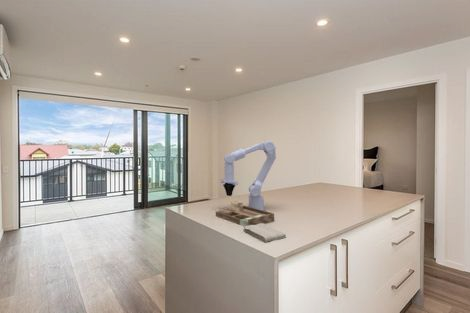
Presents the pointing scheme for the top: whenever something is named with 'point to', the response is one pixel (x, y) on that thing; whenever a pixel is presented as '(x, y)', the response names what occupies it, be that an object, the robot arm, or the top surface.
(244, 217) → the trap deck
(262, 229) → the washcloth
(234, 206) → the birch block
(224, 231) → the top surface
